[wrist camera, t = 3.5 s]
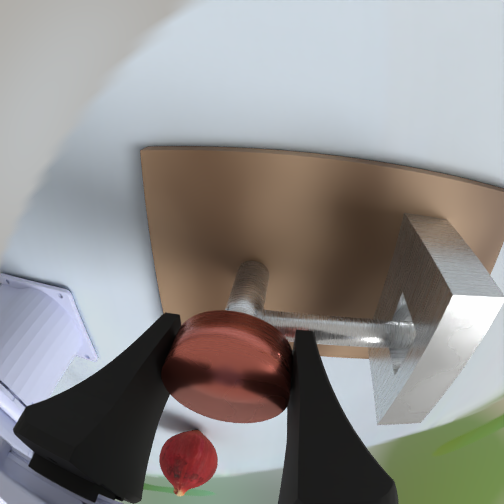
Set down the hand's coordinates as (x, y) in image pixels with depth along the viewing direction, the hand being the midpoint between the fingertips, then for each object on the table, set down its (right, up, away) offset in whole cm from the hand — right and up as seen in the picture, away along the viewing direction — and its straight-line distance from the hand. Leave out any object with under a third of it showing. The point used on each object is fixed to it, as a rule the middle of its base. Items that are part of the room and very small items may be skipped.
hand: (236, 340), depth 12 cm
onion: (-5, -15, +17) cm, 23 cm away
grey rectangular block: (+9, +2, +4) cm, 10 cm away
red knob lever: (+5, +2, +3) cm, 6 cm away
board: (+5, +2, +4) cm, 7 cm away
